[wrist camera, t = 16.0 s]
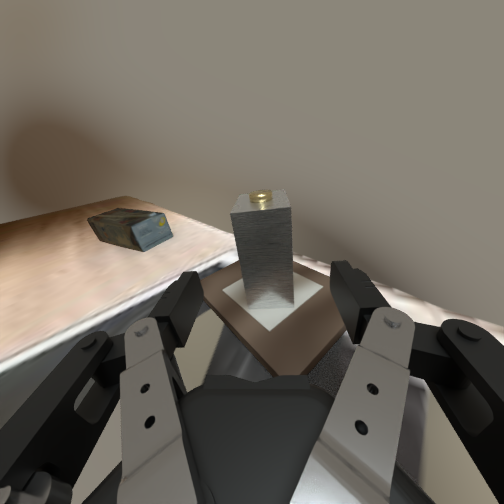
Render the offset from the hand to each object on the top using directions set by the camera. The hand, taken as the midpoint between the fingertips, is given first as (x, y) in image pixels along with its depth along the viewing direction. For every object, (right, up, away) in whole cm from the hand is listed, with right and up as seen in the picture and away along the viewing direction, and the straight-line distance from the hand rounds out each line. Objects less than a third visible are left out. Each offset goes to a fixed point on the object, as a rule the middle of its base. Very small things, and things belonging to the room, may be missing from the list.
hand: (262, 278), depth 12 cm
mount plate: (+2, -4, +11) cm, 11 cm away
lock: (+1, -3, +10) cm, 10 cm away
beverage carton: (-28, +4, +34) cm, 44 cm away
